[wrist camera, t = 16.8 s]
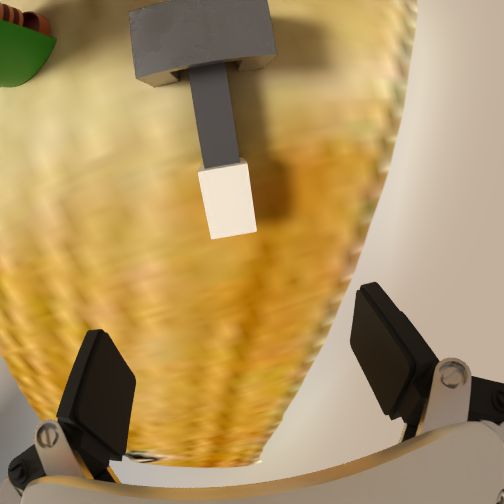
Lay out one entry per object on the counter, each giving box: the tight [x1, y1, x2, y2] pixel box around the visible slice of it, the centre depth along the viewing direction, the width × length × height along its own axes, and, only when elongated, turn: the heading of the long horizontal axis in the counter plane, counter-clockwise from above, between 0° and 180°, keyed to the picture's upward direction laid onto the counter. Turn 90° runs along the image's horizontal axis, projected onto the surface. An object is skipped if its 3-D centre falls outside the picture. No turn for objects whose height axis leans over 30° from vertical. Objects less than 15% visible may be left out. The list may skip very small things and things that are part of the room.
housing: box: [129, 0, 277, 87], centre depth 17 cm, size 6×10×6 cm, turn 98°
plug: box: [188, 62, 257, 239], centre depth 21 cm, size 22×4×4 cm, turn 8°
